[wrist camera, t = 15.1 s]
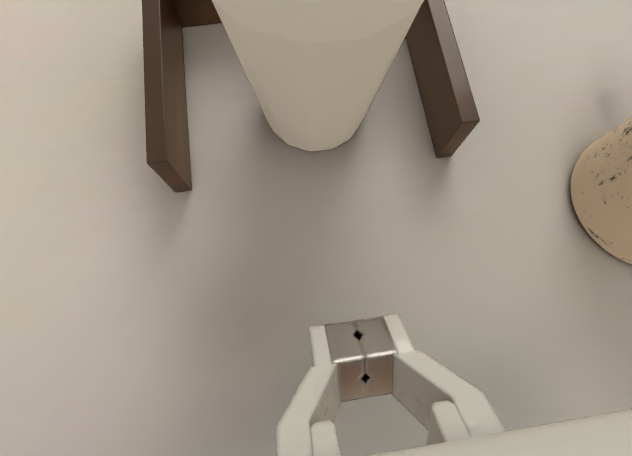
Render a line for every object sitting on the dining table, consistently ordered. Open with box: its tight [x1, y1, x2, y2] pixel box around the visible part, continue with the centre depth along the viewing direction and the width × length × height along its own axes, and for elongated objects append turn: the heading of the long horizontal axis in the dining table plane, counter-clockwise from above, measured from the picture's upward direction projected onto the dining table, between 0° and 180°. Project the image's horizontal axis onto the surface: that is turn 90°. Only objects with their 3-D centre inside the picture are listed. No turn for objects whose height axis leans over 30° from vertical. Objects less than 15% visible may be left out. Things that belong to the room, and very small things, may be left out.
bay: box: [142, 0, 480, 192], centre depth 22 cm, size 17×13×4 cm
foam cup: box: [212, 0, 424, 151], centre depth 17 cm, size 10×9×13 cm
